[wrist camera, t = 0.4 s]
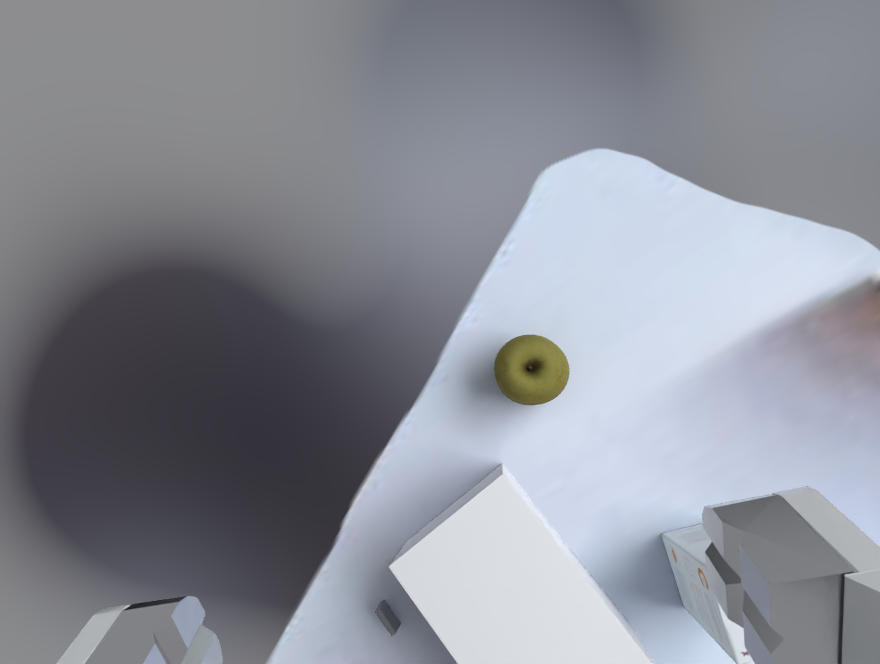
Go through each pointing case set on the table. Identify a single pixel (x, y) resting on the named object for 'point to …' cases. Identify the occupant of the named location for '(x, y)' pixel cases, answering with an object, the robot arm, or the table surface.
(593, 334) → the table surface
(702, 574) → the small box
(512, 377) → the apple
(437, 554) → the cabinet
